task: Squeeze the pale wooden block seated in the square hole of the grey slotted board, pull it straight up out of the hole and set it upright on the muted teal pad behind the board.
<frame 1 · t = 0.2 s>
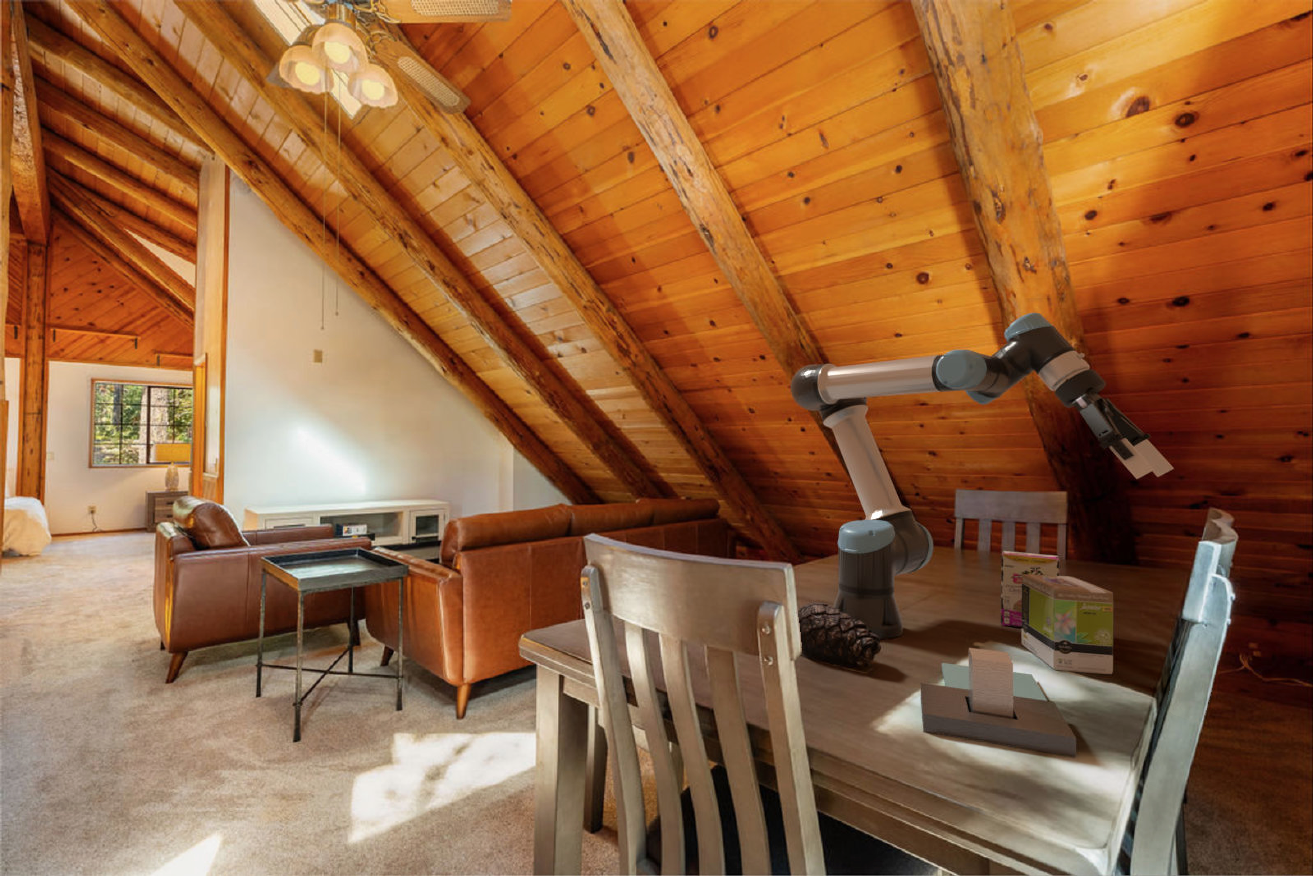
hand: (1156, 473, 104), 36 cm above the table, tool tilted 35°, fingers open, 13 cm apart
grey slotted board: (990, 725, 86), on the table
candy bar box: (1029, 628, 134), on the table
tea box: (1064, 660, 114), on the table
pale wooden block: (990, 690, 86), in the grey slotted board
pine cone: (837, 660, 113), on the table
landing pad: (990, 686, 100), on the table
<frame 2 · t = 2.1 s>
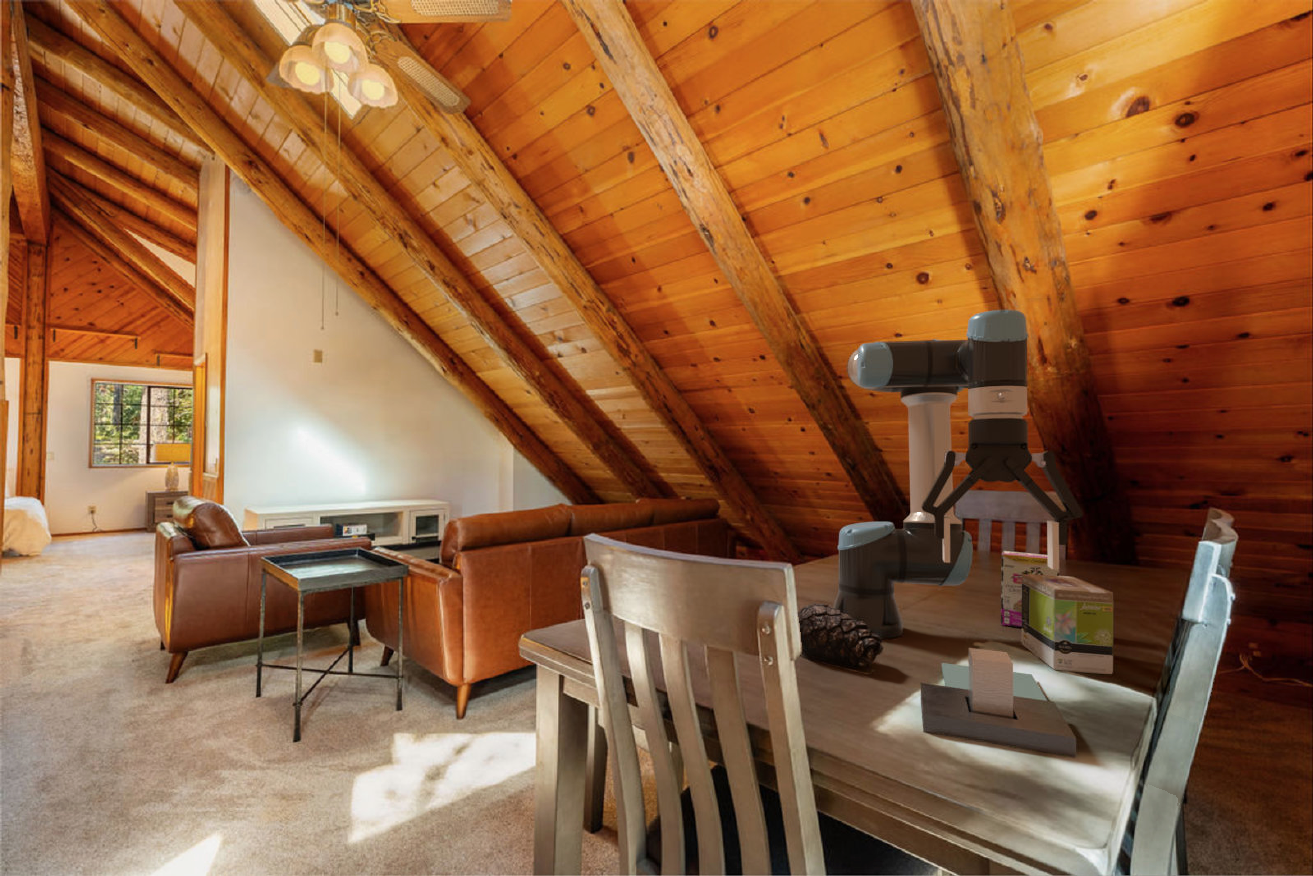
hand: (998, 564, 86), 23 cm above the table, tool pointing down, fingers open, 13 cm apart
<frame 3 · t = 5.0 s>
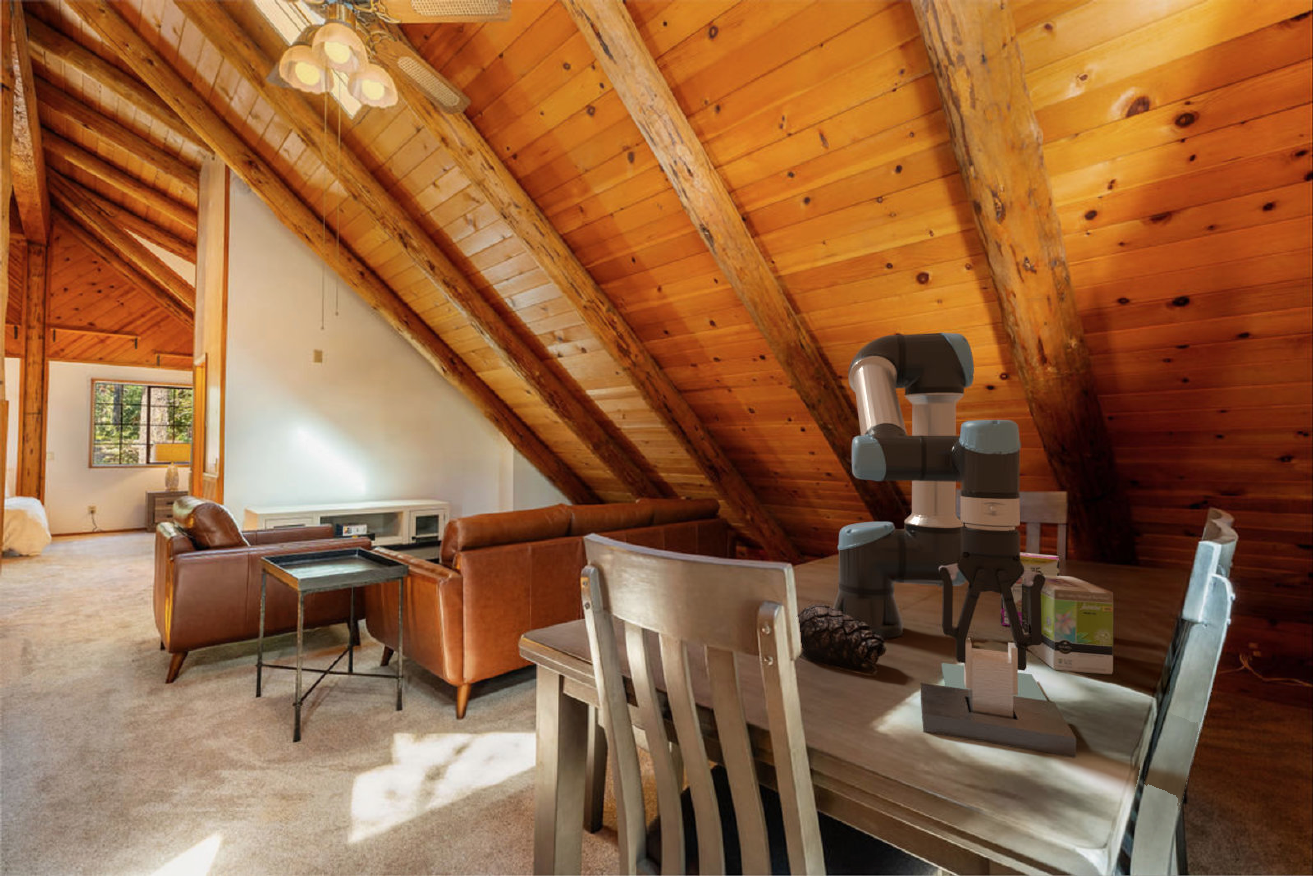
hand: (990, 688, 86), 5 cm above the table, tool pointing down, fingers closed on pale wooden block, 5 cm apart
pale wooden block: (990, 690, 86), in the grey slotted board, touching gripper
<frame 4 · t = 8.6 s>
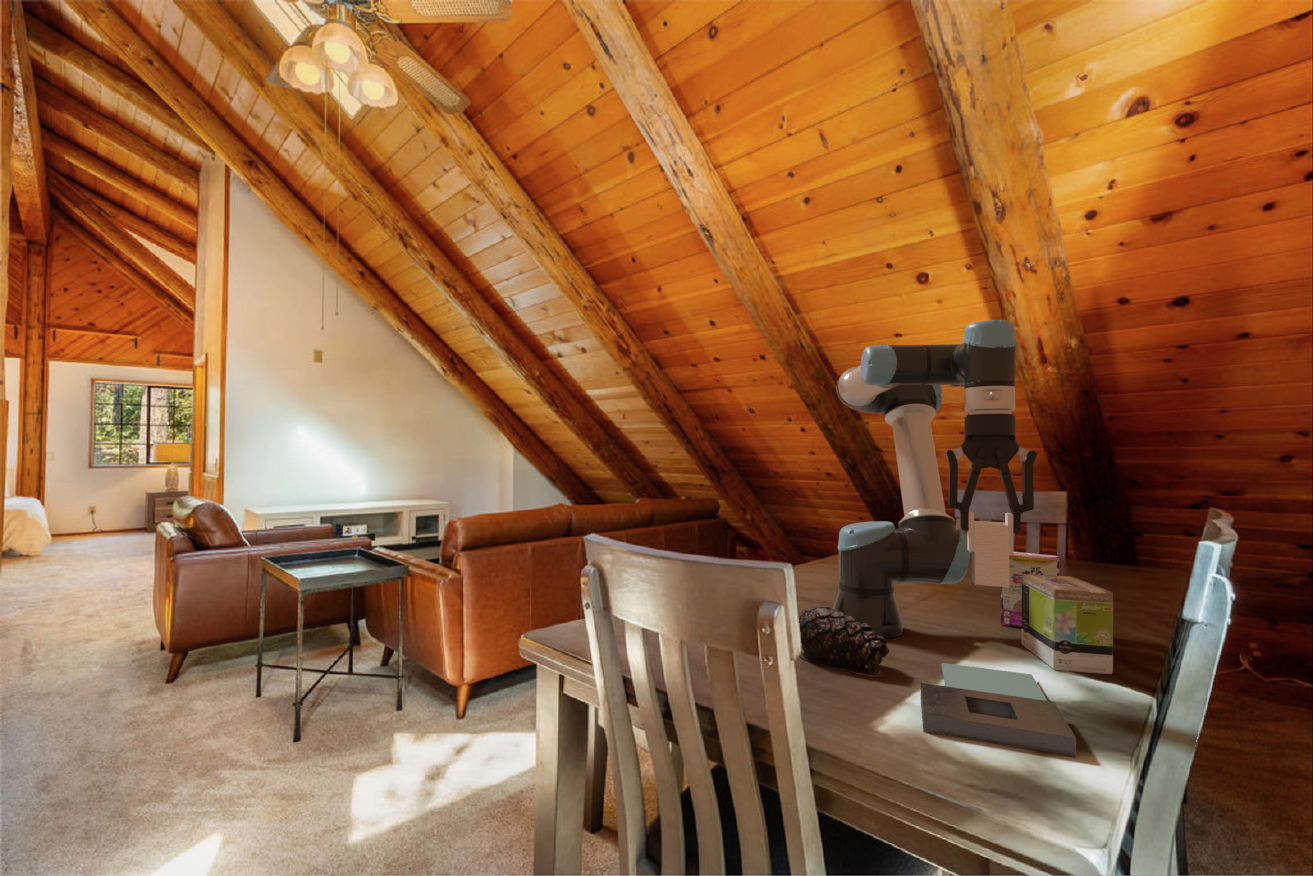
hand: (989, 551, 100), 23 cm above the table, tool pointing down, fingers closed on pale wooden block, 5 cm apart
pale wooden block: (989, 553, 100), point 22 cm above the table, touching gripper
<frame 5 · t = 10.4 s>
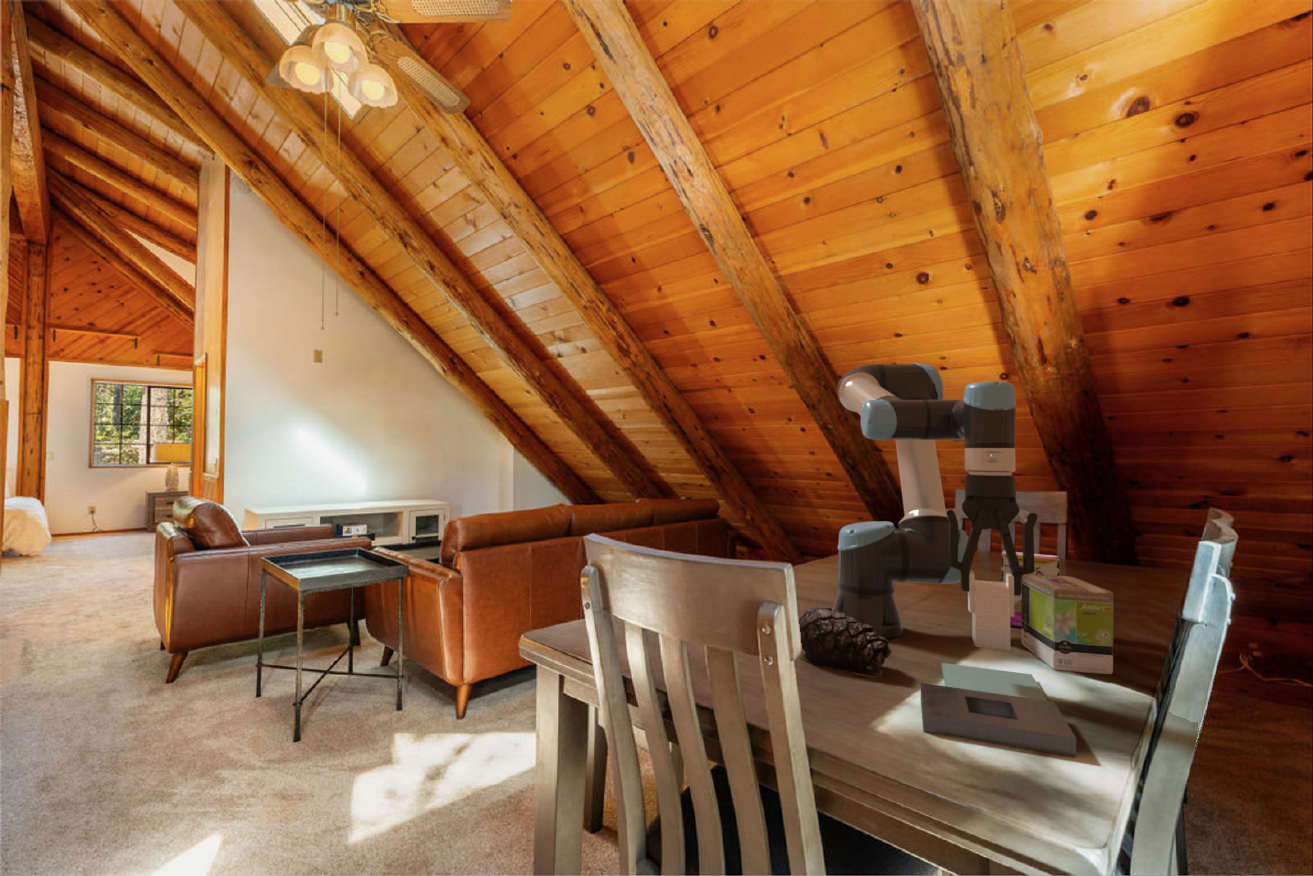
hand: (990, 612, 100), 12 cm above the table, tool pointing down, fingers closed on pale wooden block, 5 cm apart
pale wooden block: (990, 614, 100), point 12 cm above the table, touching gripper
when the fingers open (7 cm above the table, at t = 12.1 s): pale wooden block stays where it is, resting on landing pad.
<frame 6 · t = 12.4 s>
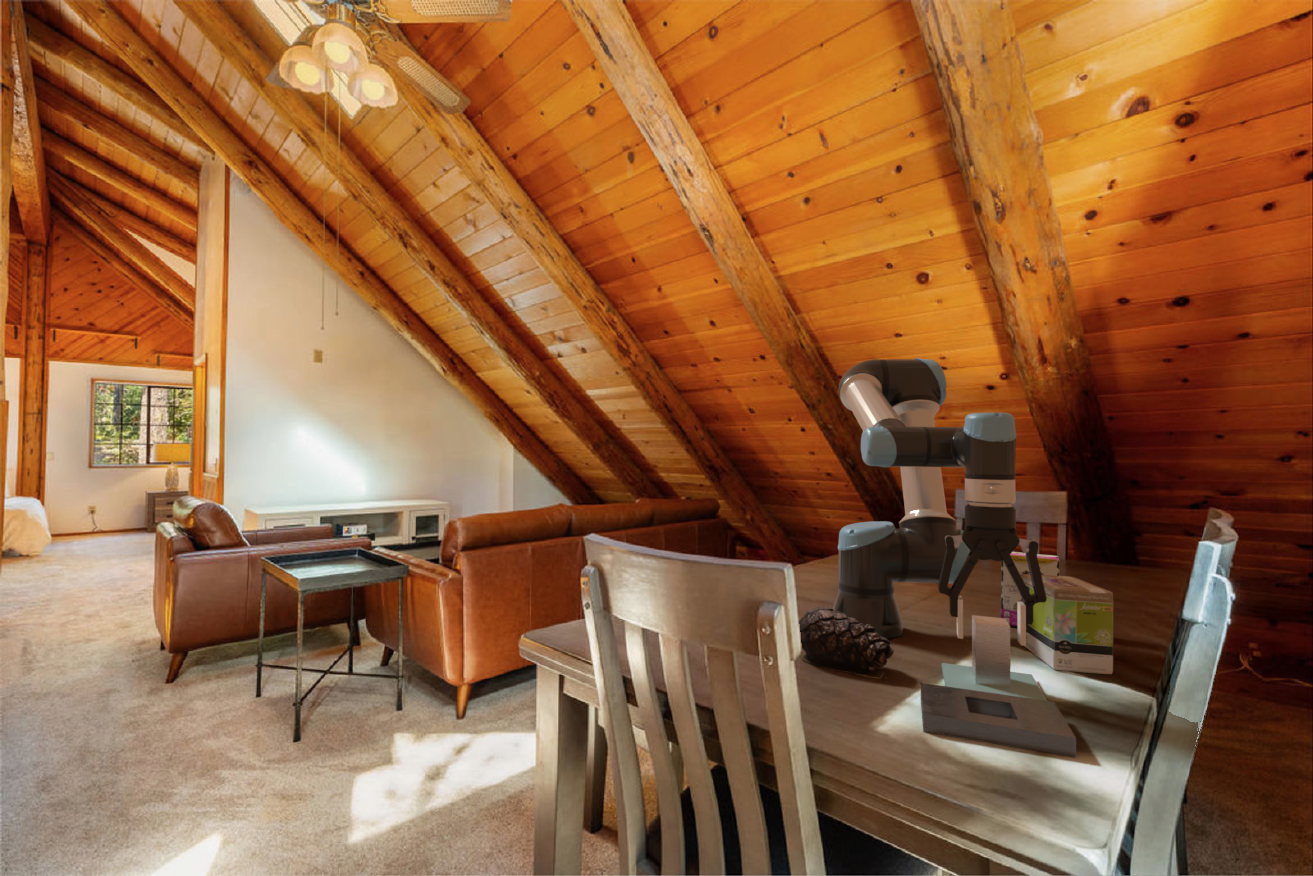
hand: (990, 639, 100), 8 cm above the table, tool pointing down, fingers open, 8 cm apart
pale wooden block: (990, 650, 100), on the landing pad, point 6 cm above the table
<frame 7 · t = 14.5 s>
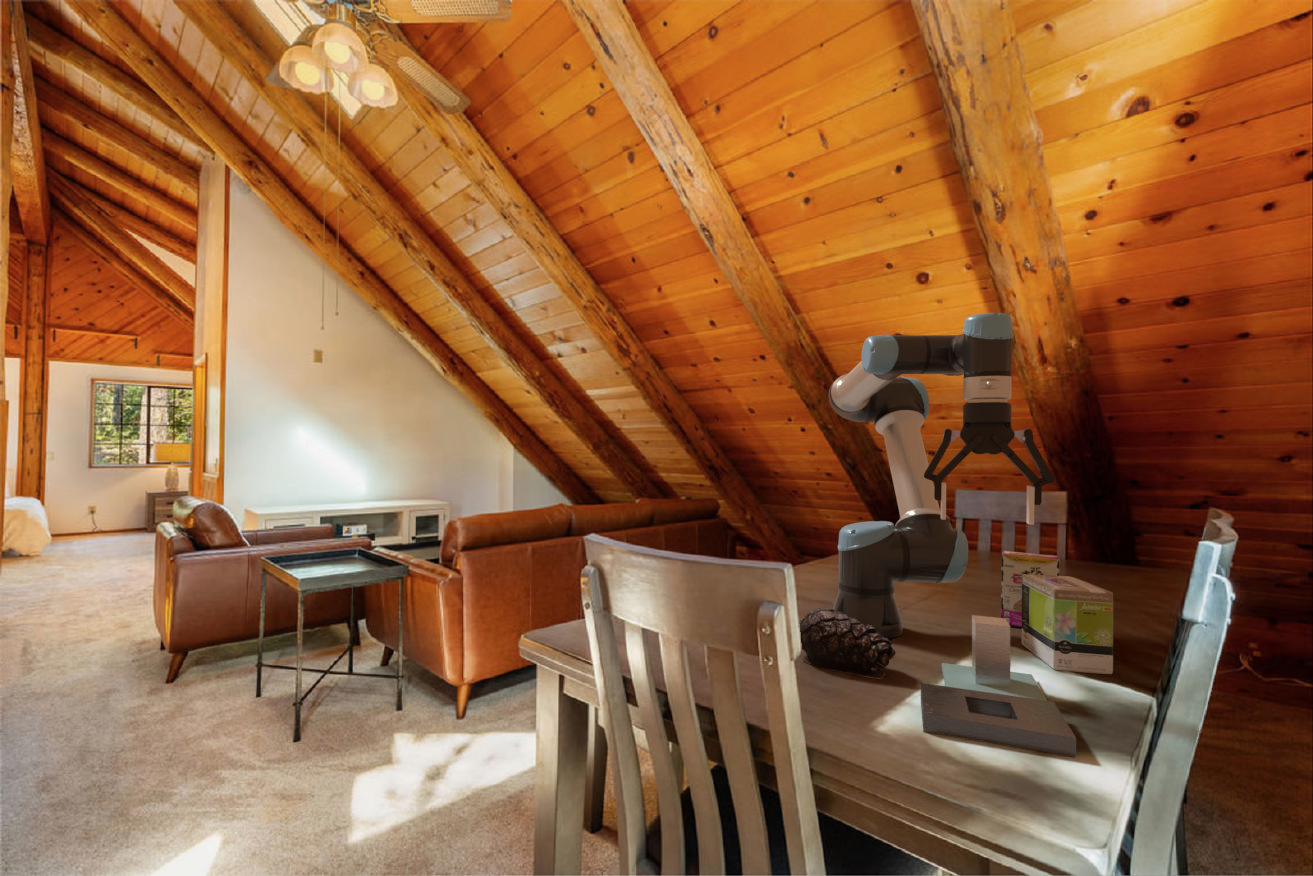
hand: (985, 521, 106), 27 cm above the table, tool pointing down, fingers open, 13 cm apart
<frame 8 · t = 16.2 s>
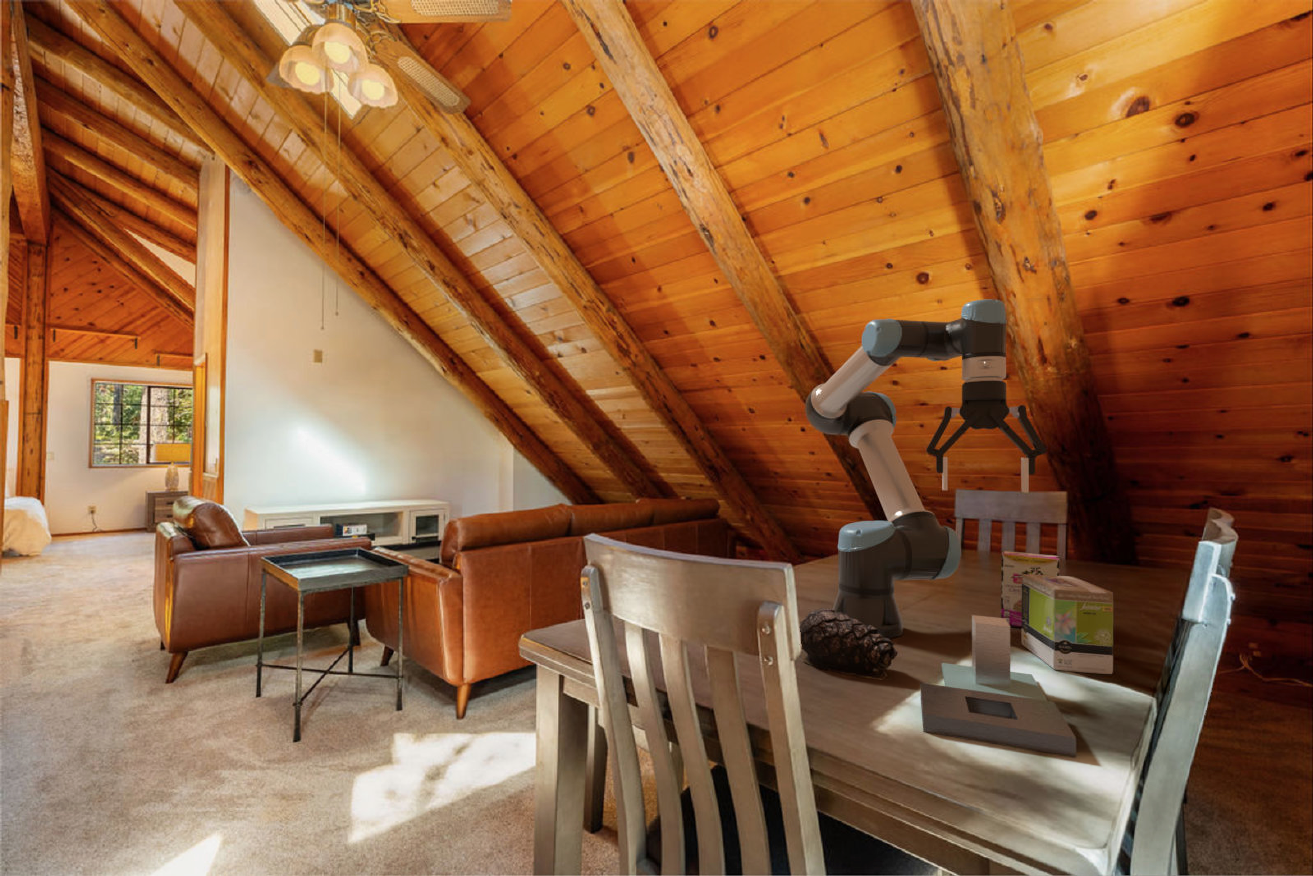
hand: (984, 491, 115), 32 cm above the table, tool pointing down, fingers open, 13 cm apart
at the end: pale wooden block inside the target area on the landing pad (0.0 cm from its centre), point 6.0 cm above the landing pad's base; pale wooden block tilted 0°; the gripper is holding nothing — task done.
